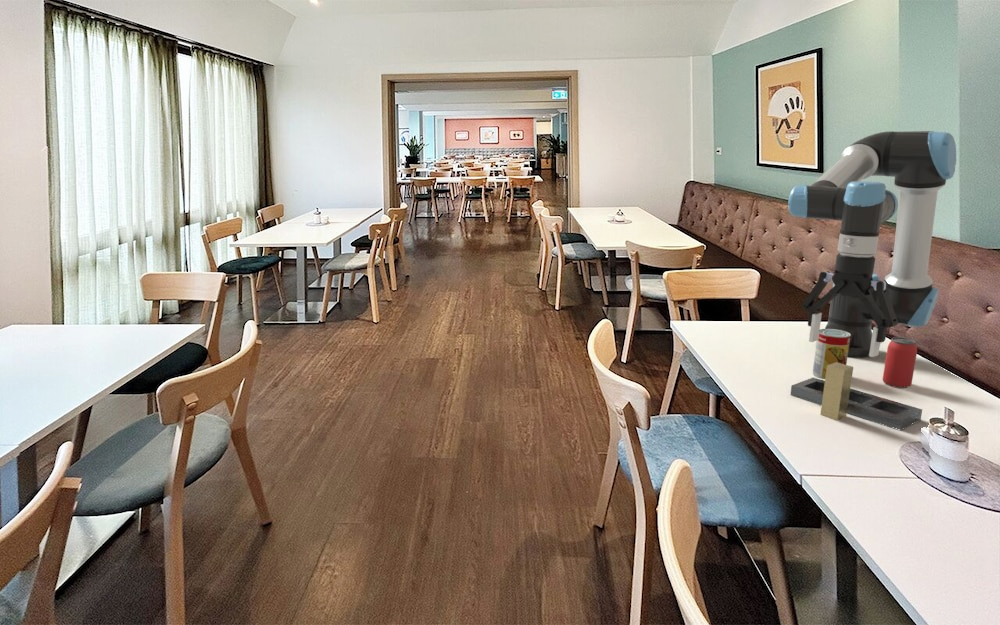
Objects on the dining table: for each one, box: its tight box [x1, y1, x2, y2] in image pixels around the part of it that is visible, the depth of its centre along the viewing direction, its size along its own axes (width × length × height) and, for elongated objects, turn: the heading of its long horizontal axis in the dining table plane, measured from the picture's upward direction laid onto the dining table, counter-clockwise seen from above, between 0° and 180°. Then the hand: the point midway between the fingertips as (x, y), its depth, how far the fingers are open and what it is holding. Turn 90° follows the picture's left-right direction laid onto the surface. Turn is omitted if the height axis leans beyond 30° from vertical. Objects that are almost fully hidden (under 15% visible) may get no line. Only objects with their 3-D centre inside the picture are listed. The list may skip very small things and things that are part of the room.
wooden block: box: [819, 362, 854, 421], centre depth 156 cm, size 4×4×12 cm
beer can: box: [882, 336, 918, 389], centre depth 176 cm, size 7×7×12 cm
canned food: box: [812, 328, 851, 380], centre depth 182 cm, size 8×8×12 cm
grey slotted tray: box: [790, 377, 923, 431], centre depth 162 cm, size 10×26×2 cm, turn 37°
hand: (842, 348), depth 153 cm, fingers open, 13 cm apart
